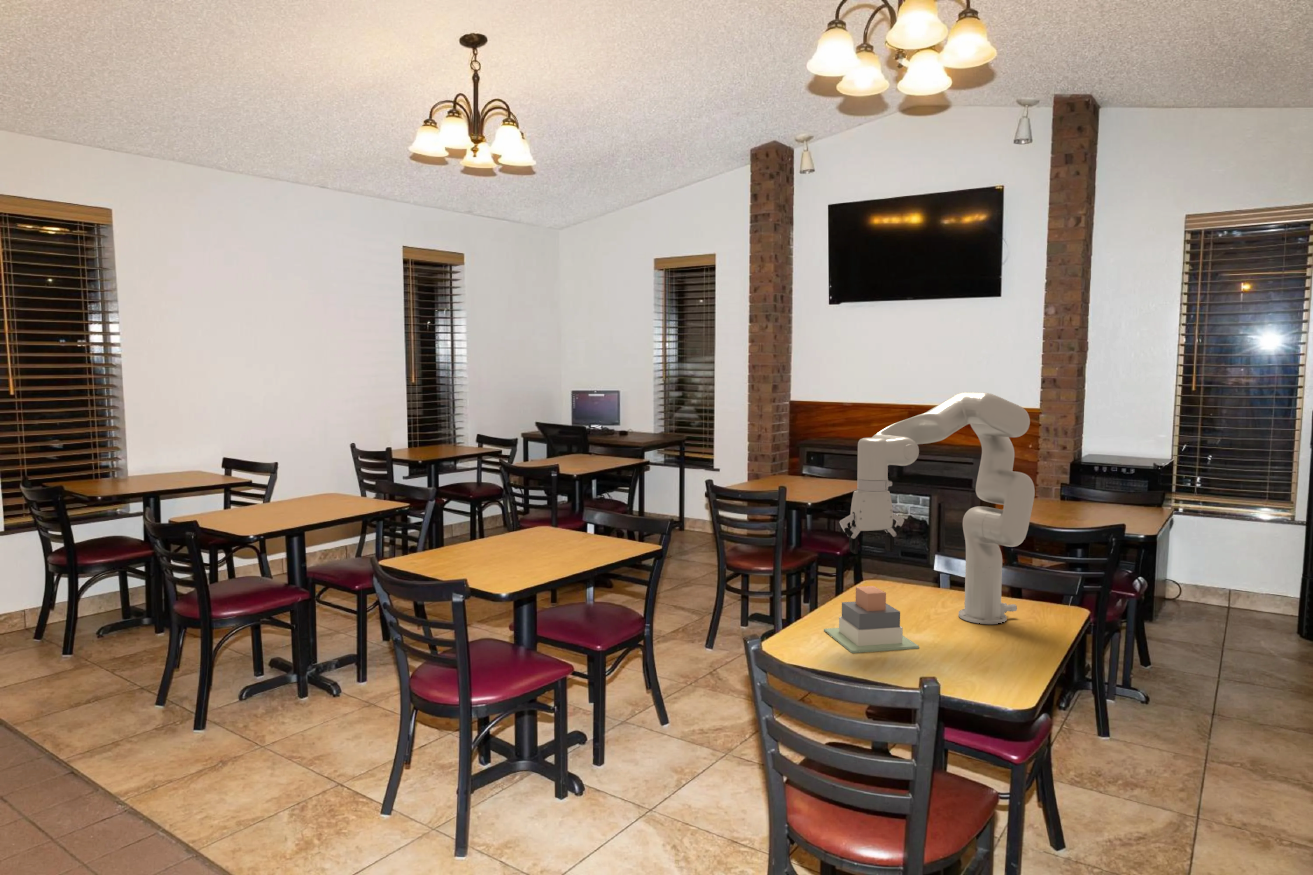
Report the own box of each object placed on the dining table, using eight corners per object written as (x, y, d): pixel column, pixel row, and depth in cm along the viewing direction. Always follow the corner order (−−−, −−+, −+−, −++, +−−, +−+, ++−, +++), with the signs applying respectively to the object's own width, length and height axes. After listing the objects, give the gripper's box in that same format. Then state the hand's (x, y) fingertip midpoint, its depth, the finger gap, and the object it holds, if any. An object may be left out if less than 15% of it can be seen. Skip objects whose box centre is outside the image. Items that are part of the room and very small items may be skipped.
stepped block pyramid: (886, 626, 223) (886, 595, 223) (919, 648, 206) (919, 614, 205) (823, 630, 220) (824, 599, 219) (851, 652, 202) (852, 618, 202)
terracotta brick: (873, 602, 216) (873, 585, 216) (885, 609, 209) (886, 592, 209) (855, 603, 215) (855, 586, 215) (867, 611, 208) (867, 593, 208)
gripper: (896, 483, 215) (895, 547, 216) (834, 485, 212) (834, 550, 213) (910, 486, 208) (909, 553, 209) (846, 489, 205) (846, 556, 206)
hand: (871, 551), depth 211 cm, fingers open, 9 cm apart
